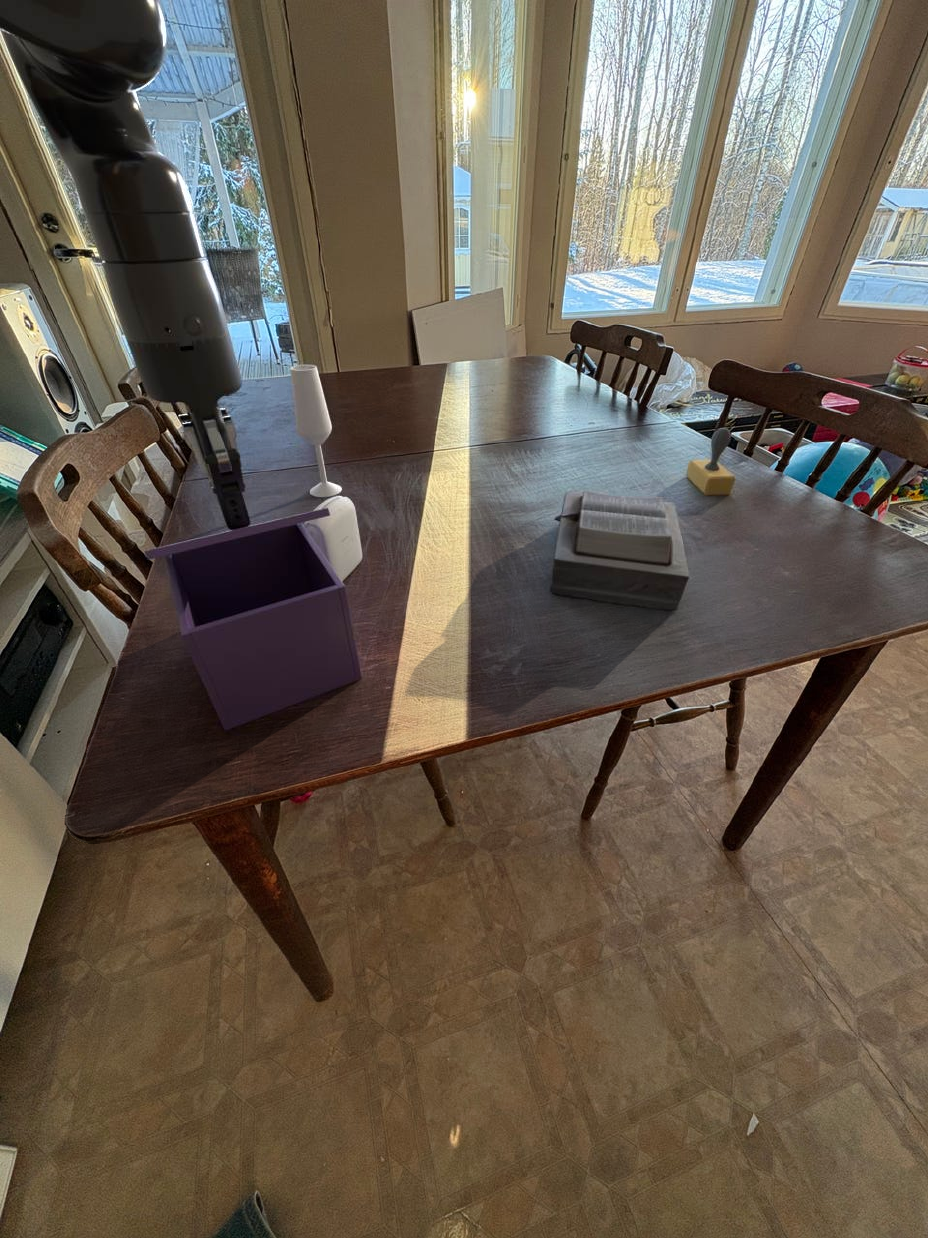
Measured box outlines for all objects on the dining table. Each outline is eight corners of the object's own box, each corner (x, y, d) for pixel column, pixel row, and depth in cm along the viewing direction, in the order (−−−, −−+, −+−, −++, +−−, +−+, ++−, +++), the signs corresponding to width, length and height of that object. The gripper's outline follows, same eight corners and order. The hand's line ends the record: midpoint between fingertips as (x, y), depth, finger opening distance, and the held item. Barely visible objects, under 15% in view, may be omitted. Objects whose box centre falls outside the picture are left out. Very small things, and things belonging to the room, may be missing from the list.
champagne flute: (345, 493, 107) (326, 369, 92) (314, 499, 105) (288, 373, 90) (336, 481, 112) (316, 361, 97) (306, 487, 110) (280, 365, 95)
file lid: (330, 515, 51) (328, 507, 51) (147, 559, 45) (144, 551, 45) (300, 520, 68) (298, 514, 67) (163, 553, 61) (160, 547, 61)
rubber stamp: (684, 475, 114) (700, 420, 106) (710, 474, 114) (727, 419, 107) (704, 495, 106) (722, 437, 98) (731, 494, 106) (751, 436, 99)
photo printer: (334, 592, 79) (320, 520, 72) (311, 587, 81) (294, 516, 73) (366, 559, 87) (357, 491, 79) (344, 554, 88) (332, 487, 80)
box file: (362, 678, 65) (345, 586, 56) (225, 731, 58) (181, 635, 49) (319, 606, 77) (300, 520, 68) (201, 643, 70) (163, 553, 61)
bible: (520, 587, 80) (524, 531, 74) (565, 514, 99) (572, 465, 93) (675, 625, 73) (694, 567, 67) (692, 538, 92) (708, 486, 86)
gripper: (120, 321, 43) (189, 508, 54) (128, 349, 34) (209, 566, 45) (213, 314, 46) (261, 492, 57) (243, 338, 37) (294, 544, 48)
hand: (238, 525), depth 51 cm, fingers closed
